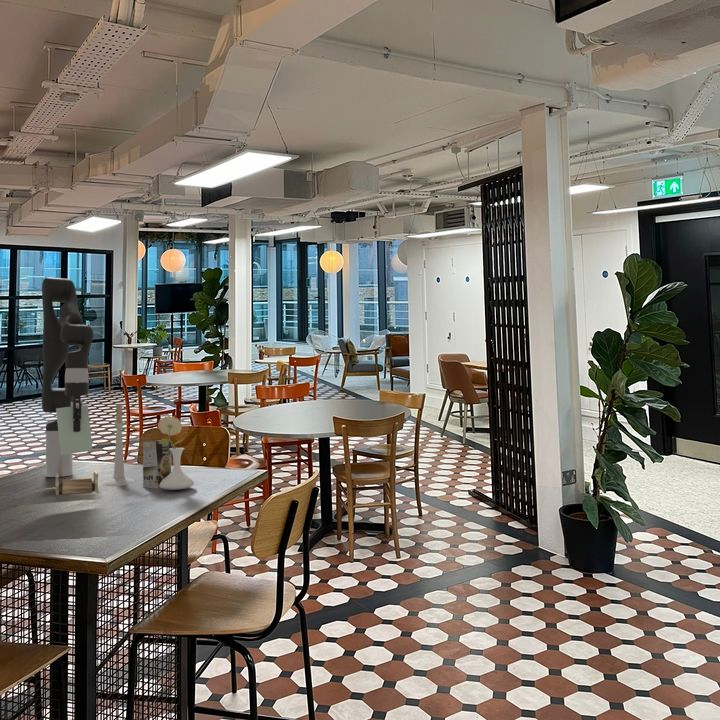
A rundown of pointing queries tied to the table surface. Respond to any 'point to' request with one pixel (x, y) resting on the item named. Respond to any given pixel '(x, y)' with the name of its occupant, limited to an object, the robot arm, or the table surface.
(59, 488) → the offcut rack
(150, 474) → the coffee box
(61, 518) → the table surface
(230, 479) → the table surface
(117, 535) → the table surface
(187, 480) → the flower in vase
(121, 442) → the candlestick
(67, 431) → the tall sheet
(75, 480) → the block
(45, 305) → the robot arm
